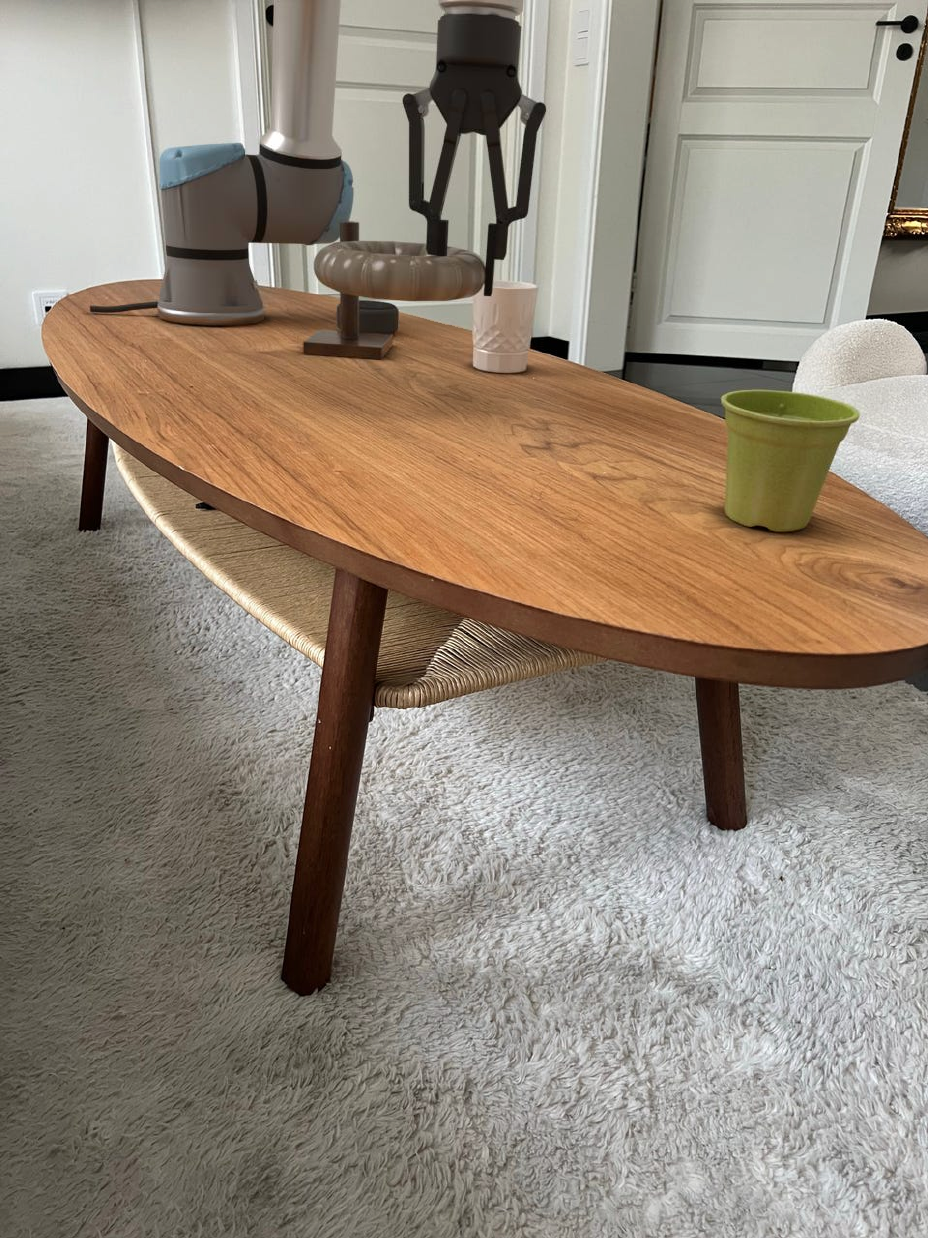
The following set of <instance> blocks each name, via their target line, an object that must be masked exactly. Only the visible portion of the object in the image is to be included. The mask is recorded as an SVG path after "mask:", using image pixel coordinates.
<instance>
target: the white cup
mask: <svg viewBox="0 0 928 1238" xmlns="http://www.w3.org/2000/svg"><path fill="white" fill-rule="evenodd" d="M538 290H539V286H538V285H537V284H534V283H529V282H523V281H517V280H516V281H515V280H501V279H493V290H492V295H491V296H484V285H483V287H482V289H481V290H480V291H479V292H478V293H477V294H476V295H474V296H472V317H471V319H472V323H471V326H472V329H471V331H472V334H471V335H472V345H473V347H472V349H473V350H472V354H473V355H472V367H473V368H475V369H477V370H478V371H479V370H480V371H484V372H490V373H498V374H517V373H521V372H525V371H526V370H527V363H528V353H529V349H530V348H531V340H532V335H533V327H534V322H535V314H536V306H537V299H538V298H537V297H538Z"/></svg>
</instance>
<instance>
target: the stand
mask: <svg viewBox="0 0 928 1238" xmlns="http://www.w3.org/2000/svg"><path fill="white" fill-rule="evenodd" d="M347 241H360V221H353V220H349V221H340V238H339V242H347ZM359 300H360V296H355V295H349V294H343V293H340V292H339V304H340V329H339V330H334V329H333V330H332V329H319V330H318V331H316V332H315V333H314V334H312V335H311V336H310V337H308V338H306V339H305V340H304V341H303V342H302V345H303V347H302V348H303V349H302V352H303V354H304V355H314V356H329V357H330V356H331V357H342V358H356V359H368V360H369V359H370V360H382V359H383V358H384V357H385V356H386V354H387V353H388V352H389V351H390V350H391V348H392V347H393V345H394V334H376V333H362V332H359Z"/></svg>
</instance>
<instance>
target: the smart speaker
mask: <svg viewBox="0 0 928 1238" xmlns="http://www.w3.org/2000/svg"><path fill="white" fill-rule="evenodd" d="M399 314H400V311H399V308H398V307H397V305H395V304H393V303H390V302H386V301H380V300H367V299H365V300H364V299H359V332H362V333H376V334H391V335H394V334H395V333H396V332H397V331H398V329H399V321H400V320H399V318H400V317H399V316H400V315H399ZM336 327H337V328H338V330H340V303H339V304H338V305H337V306H336Z"/></svg>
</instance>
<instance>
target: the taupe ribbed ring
mask: <svg viewBox="0 0 928 1238" xmlns="http://www.w3.org/2000/svg"><path fill="white" fill-rule="evenodd" d="M485 267H486V261H484V258H482V257H481V256H480V255H479V254H477V253H476V252H474V251H470V250H466V249H463V248H461V247H457V246H456V247H455V246H448V245H447V256H437V255H428V253H427V250H426V243H423V242H409V241H395V240H359V241H347V242H340V241H335V242H333V243H329V244H328V245H326V246H324V247H322V248H321V249H320V250H319V251H318V252H317V254H316V255H315V257H314V261H313V271H314V275H315V277H316V279H317V280H318V282H319V283H320V284H322V285H323V286H325V287H326V288H328V289H331V290H333V291H335V292H338V293H339V294H340V293H343V294H349V295H355V296H359V297H361V298H368V299H374V300H386V301H387V300H388V301H399V302H400V301H401V302H449V301H454V300H462V299H468V298H473V296H474V295H476V294H477V293H478V292H479V291H480V290H481V289H482V287H483V285H484V282H485Z"/></svg>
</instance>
